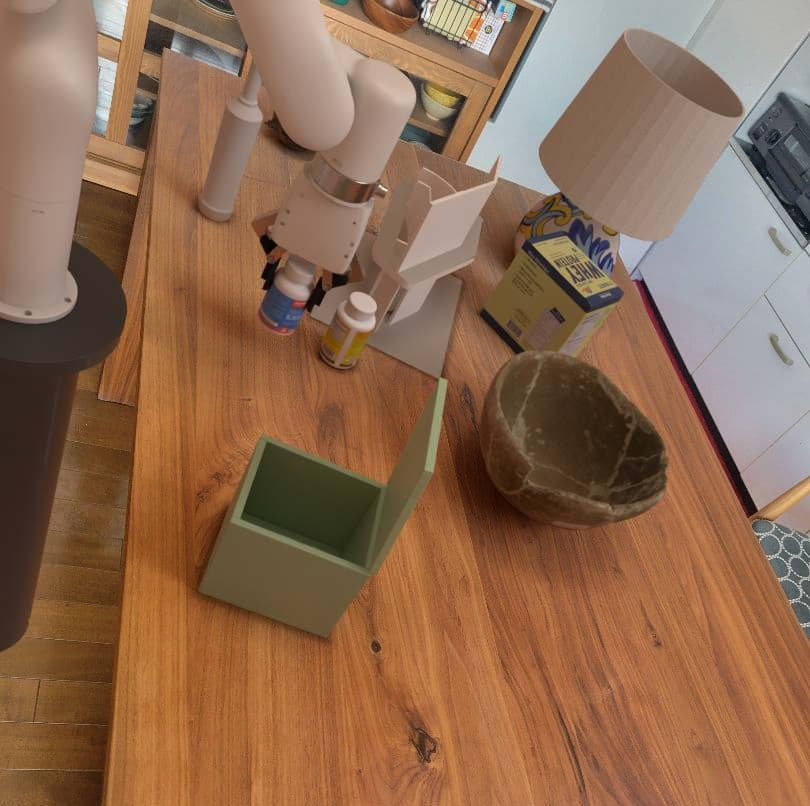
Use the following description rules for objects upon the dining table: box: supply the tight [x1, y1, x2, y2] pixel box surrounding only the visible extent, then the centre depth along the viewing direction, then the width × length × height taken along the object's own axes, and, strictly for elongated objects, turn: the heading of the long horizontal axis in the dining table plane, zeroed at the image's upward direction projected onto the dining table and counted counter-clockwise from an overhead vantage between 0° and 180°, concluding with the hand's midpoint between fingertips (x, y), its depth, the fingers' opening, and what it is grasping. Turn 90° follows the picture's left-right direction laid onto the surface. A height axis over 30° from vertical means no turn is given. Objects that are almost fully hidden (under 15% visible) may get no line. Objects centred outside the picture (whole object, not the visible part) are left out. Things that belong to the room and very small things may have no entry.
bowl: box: [479, 350, 670, 531], centre depth 117 cm, size 28×27×15 cm
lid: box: [369, 377, 449, 576], centre depth 82 cm, size 16×13×1 cm
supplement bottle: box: [319, 292, 377, 370], centre depth 118 cm, size 6×6×10 cm
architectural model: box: [309, 153, 503, 380], centre depth 127 cm, size 28×21×23 cm
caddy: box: [197, 433, 387, 639], centre depth 91 cm, size 15×13×13 cm
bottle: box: [197, 57, 264, 223], centre depth 120 cm, size 5×5×25 cm
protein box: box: [479, 231, 625, 358], centre depth 139 cm, size 10×16×16 cm
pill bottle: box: [257, 253, 319, 336], centre depth 110 cm, size 6×5×10 cm
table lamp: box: [514, 27, 746, 278], centre depth 146 cm, size 27×27×40 cm
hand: (289, 294), depth 110 cm, fingers closed on pill bottle, 5 cm apart
